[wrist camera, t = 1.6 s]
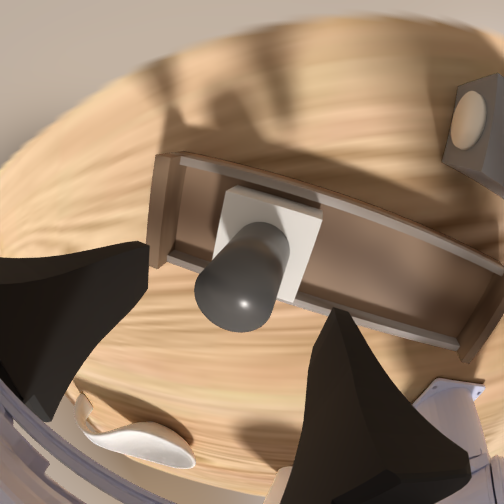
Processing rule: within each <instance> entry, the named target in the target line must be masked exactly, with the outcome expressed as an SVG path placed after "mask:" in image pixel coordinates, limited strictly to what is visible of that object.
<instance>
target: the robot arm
mask: <svg viewBox="0 0 504 504" xmlns="http://www.w3.org/2000/svg"><path fill="white" fill-rule="evenodd" d="M149 253H150V245H147V244H144V243H142V242H139V241H132V242H125V243H120V244H115V245H110V246H106V247H101V248H96V249H92V250H87V251H82V252H76V253H71V254H66V255H59V256H51V257H41V258H1V257H0V504H86V503H84V502H83V501H81V500H80V499H78V498H77V497H75V496H74V495H73V494H71V493H70V492H68V491H67V490H66V489H64V488H63V487H62V486H60V485H59V484H58V483H57V482H55V481H54V480H53V479H51V478H50V477H49V476H48V475H46V474H45V470H46V469H47V468H48V466H49V465H50V464H49V461H47V460H46V459H45V458H44V457H43V456H42V455H41V454H39V452H38V451H37V450H36V449H35V448H33V447H32V446H31V445H30V444H29V442H28V441H27V440H26V439H25V438H24V437H23V436H22V435H21V434H20V433H19V432H18V431H17V430H16V429H15V428H14V427H13V419H14V420H15V421H16V422H17V423H18V424H19V425H20V426H21V427H22V428H23V429H24V430H25V431H26V432H27V433H28V434H29V435H30V436H31V437H32V438H33V439H34V440H35V441H36V442H38V443H39V444H40V445H41V446H42V447H43V448H44V449H46V450H47V451H48V452H49V453H50V454H51V455H53V456H54V457H55V458H56V459H58V460H59V461H60V462H62V463H63V464H64V465H65V466H67V467H68V468H69V469H71V470H72V471H73V472H75V473H76V474H77V475H79V476H80V477H82V478H83V479H85V480H86V481H88V482H89V483H91V484H92V485H94V486H95V487H97V488H98V489H100V490H102V491H103V492H105V493H107V494H108V495H110V496H112V497H113V498H115V499H117V500H119V501H121V502H122V503H124V504H176V503H174V502H172V501H169V500H167V499H164V498H162V497H160V496H158V495H155V494H153V493H151V492H149V491H147V490H145V489H143V488H141V487H139V486H137V485H135V484H133V483H131V482H129V481H127V480H126V479H124V478H122V477H120V476H119V475H117V474H115V473H113V472H112V471H110V470H108V469H107V468H105V467H103V466H102V465H100V464H98V463H97V462H96V461H94V460H92V459H91V458H90V457H88V456H86V455H85V454H84V453H82V452H81V451H79V450H78V449H77V448H75V447H74V446H73V445H71V444H70V443H69V442H67V441H66V440H64V439H63V438H62V437H61V436H60V435H58V434H57V433H56V432H55V431H53V430H52V429H51V428H50V427H49V426H47V425H46V424H45V423H44V422H50V421H52V419H53V416H54V414H55V412H56V410H57V408H58V405H59V403H60V401H61V399H62V397H63V395H64V394H65V392H66V390H67V388H68V387H69V385H70V383H71V381H72V380H73V378H74V376H75V375H76V373H77V372H78V370H79V369H80V367H81V366H82V364H83V363H84V361H85V360H86V359H87V357H88V356H89V355H90V353H91V352H92V351H93V349H94V348H95V347H96V346H97V344H98V343H99V342H100V341H101V340H102V339H103V338H104V337H105V336H106V335H107V334H108V333H109V332H110V331H111V330H112V329H113V328H114V327H115V326H116V325H117V324H118V323H119V322H120V321H121V320H122V319H123V318H124V317H125V316H126V315H127V314H128V313H129V312H130V311H131V310H132V309H133V308H134V306H135V305H136V304H137V303H138V301H139V300H140V299H141V298H142V296H143V295H144V293H145V292H146V291H147V289H148V272H149ZM484 390H485V385H484V384H476V383H469V382H462V381H456V380H449V379H443V378H437V379H435V380H434V381H433V382H432V383H431V384H430V385H429V387H428V388H427V389H426V390H425V391H424V392H423V393H422V394H421V396H420V397H419V398H418V399H417V400H416V401H415V402H414V403H413V404H411V403H410V402H409V401H408V400H407V399H406V398H405V397H404V395H403V394H402V393H401V392H400V391H399V389H398V388H397V387H396V385H395V384H394V383H393V382H392V380H391V379H390V378H389V376H388V375H387V374H386V372H385V371H384V369H383V368H382V366H381V365H380V363H379V362H378V360H377V359H376V357H375V356H374V354H373V352H372V351H371V349H370V347H369V346H368V344H367V342H366V341H365V339H364V337H363V335H362V334H361V332H360V330H359V328H358V327H357V325H356V323H355V321H354V320H353V318H352V316H351V315H350V313H349V312H348V311H345V310H341V309H338V308H335V307H333V308H332V310H331V312H330V314H329V316H328V318H327V320H326V322H325V324H324V326H323V328H322V330H321V332H320V334H319V336H318V338H317V340H316V342H315V344H314V346H313V349H312V354H311V359H310V364H309V369H308V378H307V390H306V401H305V412H304V421H303V427H302V433H301V437H300V441H299V445H298V449H297V453H296V456H295V460H294V463H293V466H292V470H291V473H290V476H289V479H288V482H287V485H286V488H285V491H284V494H283V496H282V499H281V501H280V504H504V458H503V457H501V456H498V455H495V456H494V457H492V458H491V457H490V456H489V453H488V449H487V445H486V441H485V437H484V433H483V430H482V426H481V423H480V419H479V416H478V413H477V410H476V407H475V404H474V401H475V399H476V398H477V397H478V396H479V395H480V394H481V393H482V392H483V391H484Z"/></svg>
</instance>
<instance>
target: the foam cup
mask: <svg viewBox="0 0 504 504" xmlns="http://www.w3.org/2000/svg"><path fill="white" fill-rule="evenodd" d="M291 470H292V466H288V467H282V468H280V469H279V470H278V472H277V473H276V476H275V478H274V480H273V483H272V485H271V487H270V489H269V492H268V494H267V496H266V498H265V501H264V503H263V504H280V501H281V499H282V496H283V494H284V491H285V488H286V485H287V482H288V479H289V476H290V473H291Z"/></svg>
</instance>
